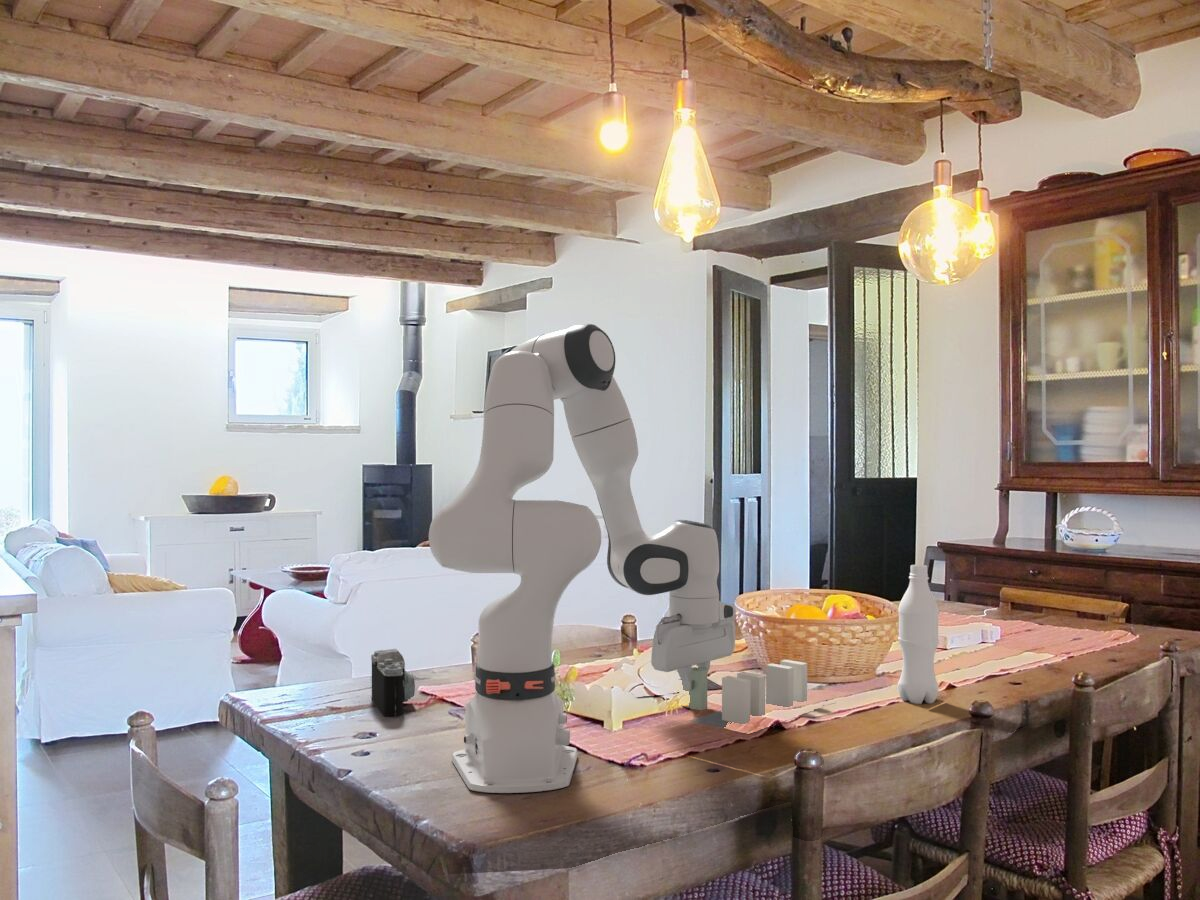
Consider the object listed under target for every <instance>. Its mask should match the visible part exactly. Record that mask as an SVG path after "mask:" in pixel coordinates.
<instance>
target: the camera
mask: <svg viewBox="0 0 1200 900" xmlns="http://www.w3.org/2000/svg"><path fill="white" fill-rule="evenodd" d="M370 657H371V658H370V659H371V701H372V703H373V704H374V705H375V707H376V708H377V710H378V711H379V712H380V713H381V715H382V717H383V718H388V719H389V718H390V719H391V718H399V717H403V716H404V703H406V702H408V701H409V700H410V699H412V698H413V697H414V696H415V693H416V691H415V690H416V683H415V677H414V675H413V674H411V673H410V672H408V671H406V669H405V668H406V664H405V663H406V662H405V659H404V656H403V655H402V653H401V652H400V651H399V650H398V649H397V648H391V649H385V650H384V649H381V650H375V651H374V652H373V654H371V656H370Z"/></svg>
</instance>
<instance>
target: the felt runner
mask: <svg viewBox="0 0 1200 900" xmlns="http://www.w3.org/2000/svg"><path fill="white" fill-rule="evenodd" d="M721 711H722V709H721V710H718V711H716V712H712V713H709V714H705V715H703V716H699V717H696V718H693V719H690V720H689V721H690V722H693V723H697V724H701V725H706V726H710V727H714V728H717V729H718V728H719V729H722V728H724V727H726V725H727V723H728V722H729V721H725V720H722V712H721ZM731 723H732V722H731ZM731 723H730V724H731ZM773 726H777V725H776V724H775V725H773ZM773 726H772V727H773Z"/></svg>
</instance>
